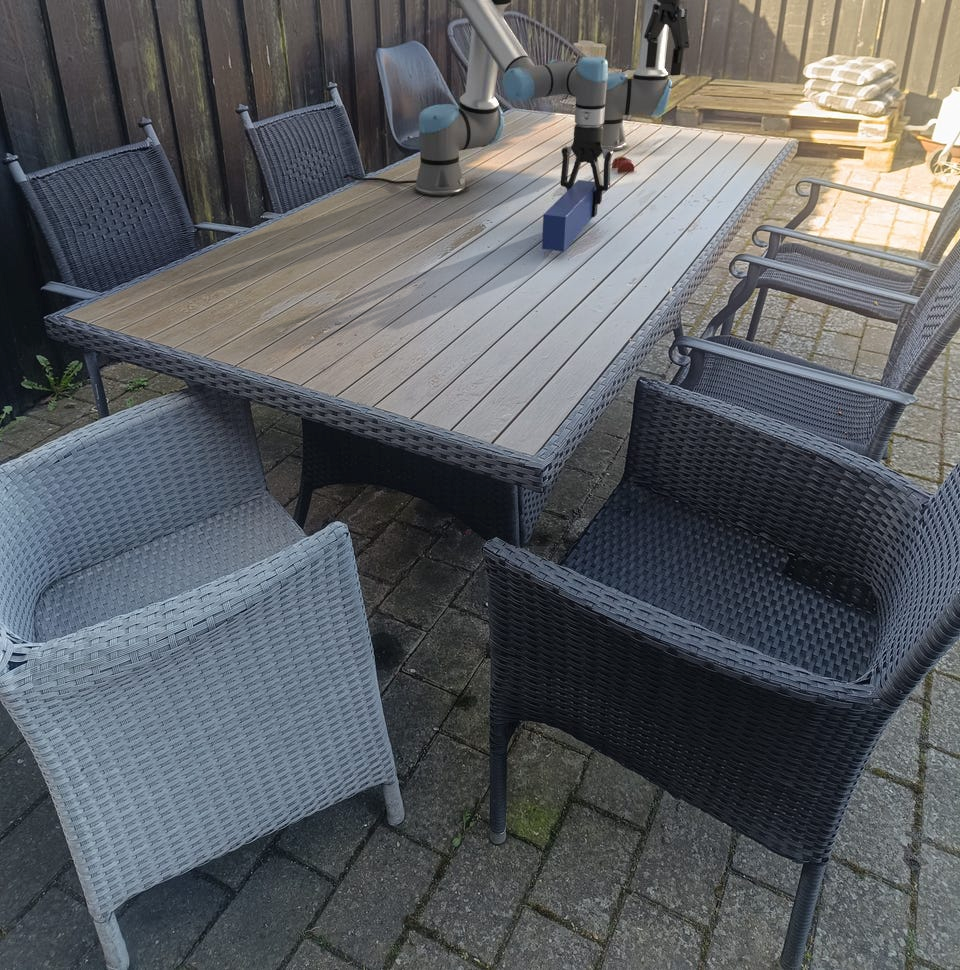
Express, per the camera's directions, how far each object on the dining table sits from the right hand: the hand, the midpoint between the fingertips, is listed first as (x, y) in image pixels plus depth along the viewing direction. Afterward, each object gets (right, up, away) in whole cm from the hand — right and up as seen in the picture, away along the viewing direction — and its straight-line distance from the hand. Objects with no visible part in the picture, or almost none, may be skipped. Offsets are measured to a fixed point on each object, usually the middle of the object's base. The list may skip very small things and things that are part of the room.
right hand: (662, 71), depth 243 cm
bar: (-29, -53, -21) cm, 64 cm away
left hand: (-25, -45, -13) cm, 53 cm away
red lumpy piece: (-6, -17, +32) cm, 37 cm away
